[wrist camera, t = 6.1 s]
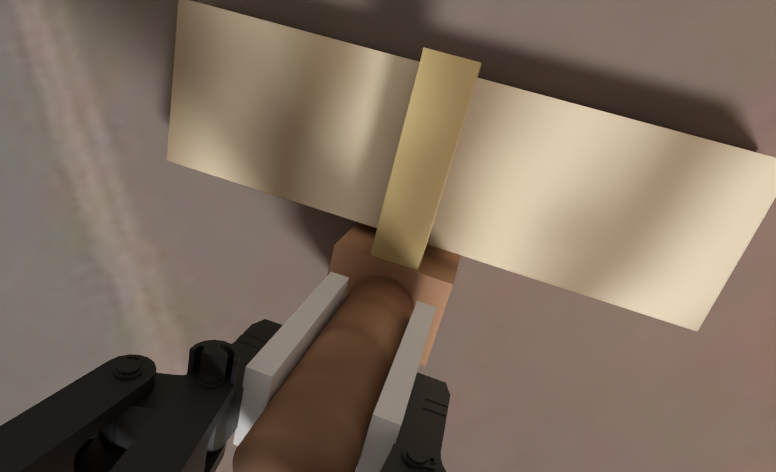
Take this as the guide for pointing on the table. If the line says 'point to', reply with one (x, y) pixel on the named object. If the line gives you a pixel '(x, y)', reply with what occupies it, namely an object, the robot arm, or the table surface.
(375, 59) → the board
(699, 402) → the table surface
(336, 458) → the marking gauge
